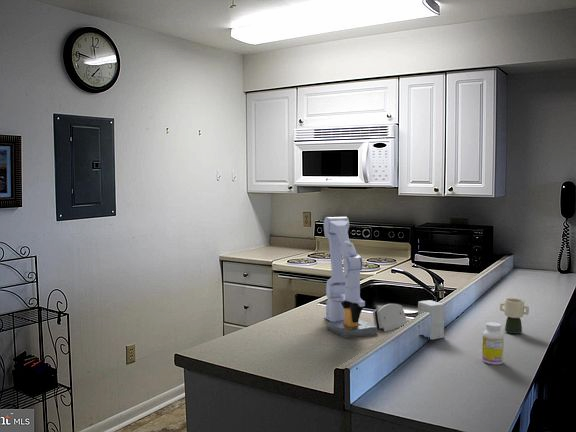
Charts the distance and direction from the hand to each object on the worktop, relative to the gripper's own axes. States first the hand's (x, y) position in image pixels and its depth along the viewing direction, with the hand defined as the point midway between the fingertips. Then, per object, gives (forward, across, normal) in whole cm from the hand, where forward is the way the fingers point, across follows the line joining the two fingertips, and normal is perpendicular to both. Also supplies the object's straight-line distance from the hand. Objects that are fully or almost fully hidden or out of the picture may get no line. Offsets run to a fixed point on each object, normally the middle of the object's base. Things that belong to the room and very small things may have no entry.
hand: (352, 320), depth 218 cm
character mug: (+5, +29, +56) cm, 63 cm away
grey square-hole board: (+4, 0, 0) cm, 4 cm away
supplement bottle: (+5, +50, +23) cm, 55 cm away
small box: (+5, +18, +24) cm, 30 cm away
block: (+2, 0, 0) cm, 2 cm away
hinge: (+5, 0, +19) cm, 19 cm away
